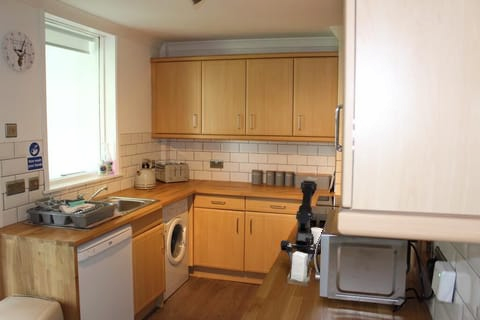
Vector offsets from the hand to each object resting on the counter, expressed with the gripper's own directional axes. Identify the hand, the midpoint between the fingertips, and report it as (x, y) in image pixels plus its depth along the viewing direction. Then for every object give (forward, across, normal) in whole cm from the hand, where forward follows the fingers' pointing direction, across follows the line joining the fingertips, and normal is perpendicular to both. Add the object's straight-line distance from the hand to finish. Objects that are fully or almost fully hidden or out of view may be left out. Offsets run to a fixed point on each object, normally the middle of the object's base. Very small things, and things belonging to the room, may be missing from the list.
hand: (299, 265), depth 190 cm
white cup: (-28, +6, +40) cm, 50 cm away
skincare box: (+4, 0, +6) cm, 7 cm away
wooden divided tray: (+2, 0, +9) cm, 10 cm away
